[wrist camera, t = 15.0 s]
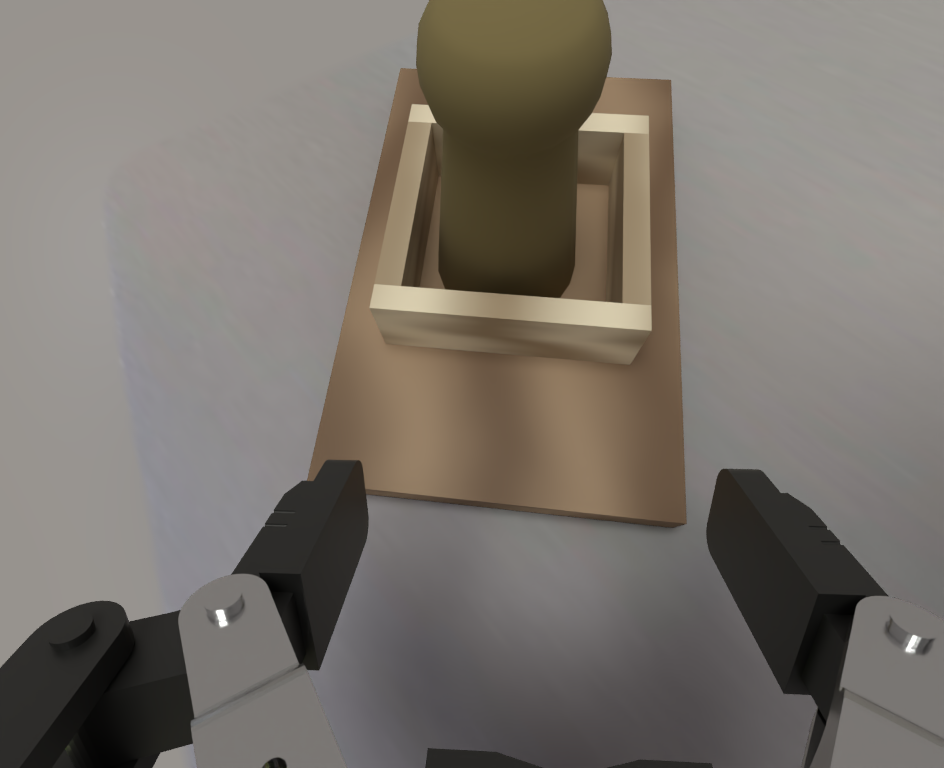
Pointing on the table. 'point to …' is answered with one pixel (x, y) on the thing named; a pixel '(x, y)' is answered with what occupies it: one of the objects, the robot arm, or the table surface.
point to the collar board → (520, 338)
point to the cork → (511, 134)
